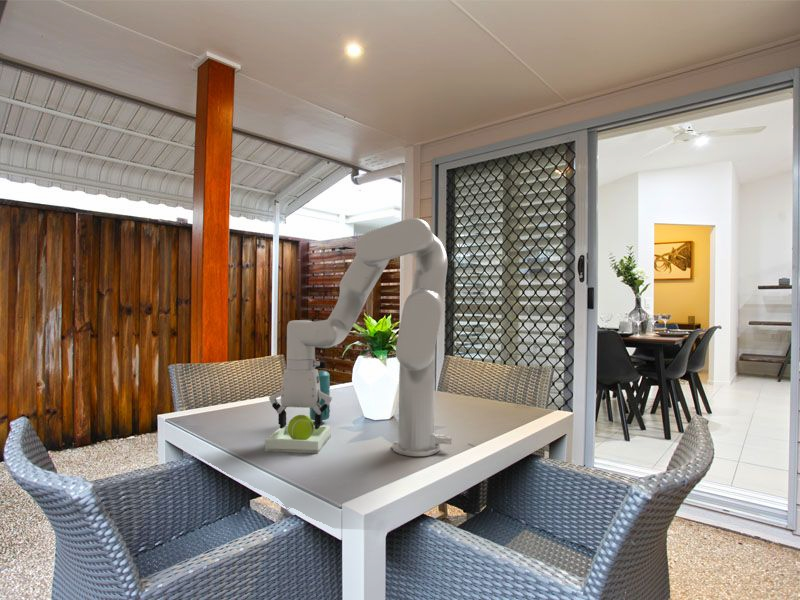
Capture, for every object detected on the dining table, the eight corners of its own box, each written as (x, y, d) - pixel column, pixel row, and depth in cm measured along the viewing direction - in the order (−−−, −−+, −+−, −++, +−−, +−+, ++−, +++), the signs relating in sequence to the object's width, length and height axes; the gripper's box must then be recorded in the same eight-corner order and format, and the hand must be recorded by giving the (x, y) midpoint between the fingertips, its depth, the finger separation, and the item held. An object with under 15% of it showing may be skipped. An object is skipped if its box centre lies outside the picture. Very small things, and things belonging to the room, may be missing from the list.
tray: (330, 436, 124) (330, 426, 124) (317, 453, 110) (318, 441, 110) (283, 435, 125) (283, 424, 125) (264, 451, 111) (265, 439, 111)
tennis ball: (286, 438, 120) (286, 413, 120) (311, 435, 122) (312, 411, 122) (288, 446, 113) (288, 419, 113) (315, 443, 115) (315, 417, 115)
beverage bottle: (318, 426, 134) (319, 362, 134) (304, 423, 138) (305, 360, 138) (334, 422, 139) (334, 360, 139) (320, 418, 143) (320, 358, 143)
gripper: (334, 363, 121) (334, 424, 121) (275, 362, 122) (274, 423, 122) (328, 367, 113) (327, 432, 113) (264, 366, 115) (264, 430, 114)
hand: (300, 427), depth 118 cm, fingers open, 9 cm apart
